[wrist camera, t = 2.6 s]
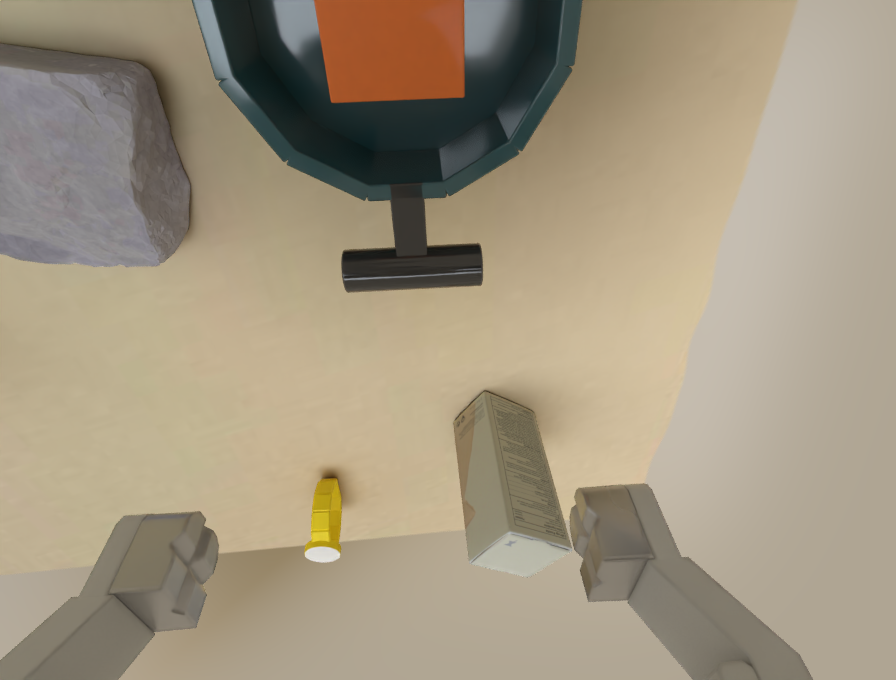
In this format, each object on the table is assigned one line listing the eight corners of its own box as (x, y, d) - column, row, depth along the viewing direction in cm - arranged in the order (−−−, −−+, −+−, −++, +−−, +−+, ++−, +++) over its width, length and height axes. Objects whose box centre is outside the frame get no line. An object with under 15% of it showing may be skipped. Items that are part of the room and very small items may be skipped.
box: (451, 421, 38) (462, 564, 29) (484, 388, 35) (507, 531, 27) (504, 443, 40) (529, 582, 31) (539, 412, 38) (575, 553, 29)
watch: (310, 467, 40) (297, 535, 36) (344, 466, 41) (335, 534, 36) (320, 506, 44) (309, 572, 40) (351, 505, 44) (344, 571, 40)
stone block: (215, 229, 28) (155, 39, 20) (186, 288, 25) (103, 92, 17) (-7, 207, 27) (-159, -2, 19) (-64, 267, 24) (-272, 47, 16)
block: (324, -72, 15) (301, -73, 12) (453, -76, 15) (464, -78, 12) (345, 73, 18) (330, 103, 14) (455, 69, 18) (464, 98, 15)
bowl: (139, -258, 13) (40, -326, 9) (605, -269, 13) (672, -338, 10) (280, 249, 23) (257, 305, 19) (546, 235, 23) (569, 289, 19)
